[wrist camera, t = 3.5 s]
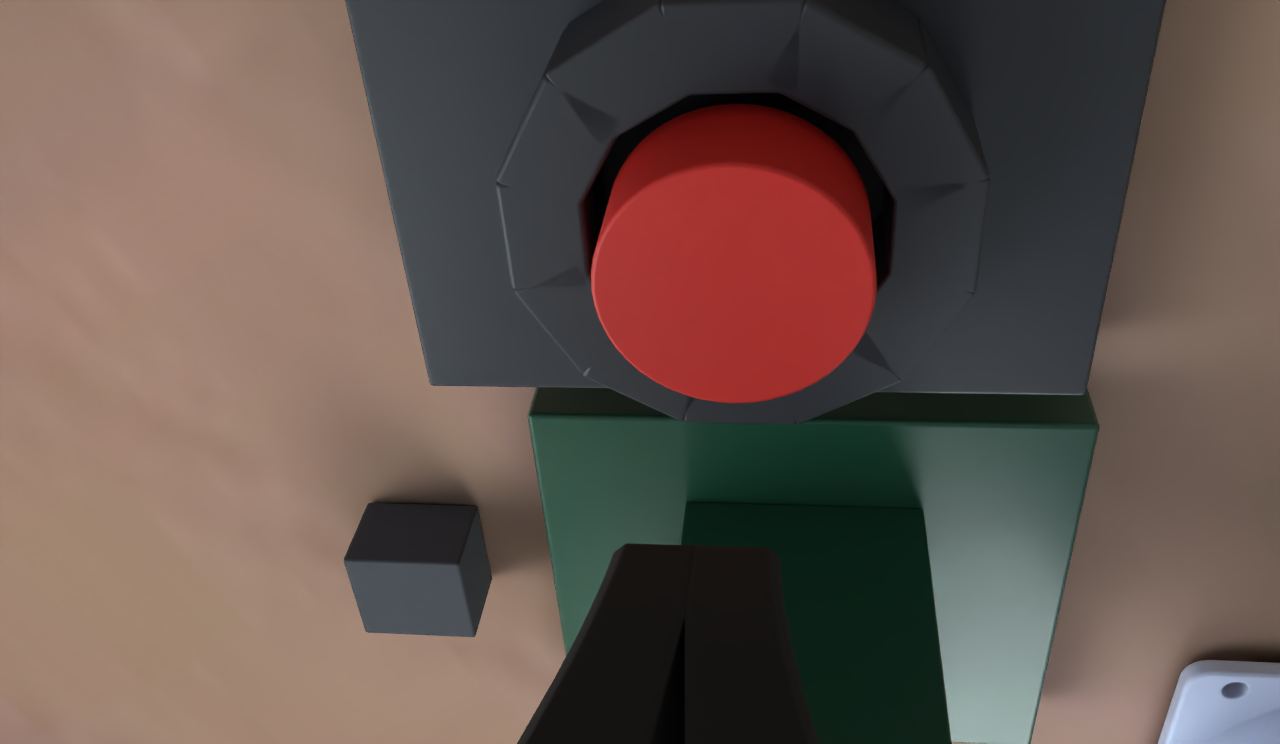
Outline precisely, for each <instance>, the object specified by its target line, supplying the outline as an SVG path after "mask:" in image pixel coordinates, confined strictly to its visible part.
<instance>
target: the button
mask: <svg viewBox="0 0 1280 744" xmlns="http://www.w3.org/2000/svg"><path fill="white" fill-rule="evenodd" d="M591 291H592V296H593V301H594V306H595V309H596V312H597V315H598V318H599V320H600V322H601V324H602V326H603V328H604V330H605V332H606V334H607V336H608V337H609V339H610V340H611V342H612V343H613V344H614V346H615V347H616V349H617V350H618V351H619V352H620V353H621V354H622V355H623V356H624V358H625V359H626V360H627V361H628V362H630V363H631V364H632V365H633V366H634V367H635V368H636V369H638V370H639V371H640V372H641V373H643V374H644V375H646V376H647V377H649V378H650V379H652V380H653V381H655V382H657V383H659V384H661V385H663V386H665V387H667V388H669V389H671V390H674V391H676V392H679V393H681V394H684V395H687V396H691V397H694V398H698V399H702V400H708V401H714V402H724V403H752V402H759V401H766V400H771V399H775V398H779V397H783V396H787V395H789V394H792V393H795V392H797V391H800V390H802V389H804V388H806V387H808V386H810V385H812V384H814V383H816V382H818V381H819V380H821V379H822V378H824V377H825V376H827V375H828V374H830V373H831V372H832V371H833V370H834V369H835V368H837V367H838V366H839V365H840V364H841V363H842V362H843V361H844V360H845V359H846V358H847V357H848V356H849V354H850V353H851V352H852V351H853V350H854V348H855V347H856V346H857V344H858V343H859V341H860V340H861V338H862V337H863V335H864V333H865V331H866V328H867V326H868V324H869V322H870V319H871V316H872V313H873V310H874V306H875V299H876V292H877V276H876V264H875V254H874V243H873V233H872V222H871V212H870V206H869V200H868V195H867V192H866V189H865V186H864V183H863V180H862V178H861V176H860V174H859V172H858V170H857V168H856V166H855V165H854V163H853V162H852V160H851V159H850V158H849V156H848V155H847V153H846V152H845V151H844V150H843V149H842V148H841V147H840V146H839V145H838V144H837V143H836V141H835V140H833V139H832V138H831V137H830V136H828V135H827V134H826V133H825V132H824V131H822V130H821V129H819V128H818V127H816V126H815V125H813V124H811V123H810V122H808V121H806V120H804V119H802V118H800V117H798V116H795V115H793V114H791V113H788V112H785V111H782V110H778V109H775V108H772V107H766V106H760V105H754V104H723V105H715V106H710V107H705V108H700V109H697V110H694V111H691V112H688V113H685V114H682V115H680V116H678V117H676V118H674V119H672V120H670V121H668V122H666V123H664V124H663V125H661V126H660V127H658V128H657V129H655V130H654V131H652V132H651V133H650V134H649V135H648V136H646V137H645V138H644V139H643V140H642V141H641V142H640V143H639V144H638V145H637V146H636V147H635V148H634V150H633V151H632V152H631V153H630V154H629V156H628V157H627V159H626V160H625V162H624V163H623V165H622V166H621V168H620V170H619V172H618V175H617V177H616V179H615V181H614V184H613V187H612V191H611V195H610V198H609V202H608V205H607V209H606V212H605V216H604V220H603V223H602V227H601V230H600V234H599V237H598V241H597V245H596V248H595V252H594V255H593V260H592V268H591Z"/></svg>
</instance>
